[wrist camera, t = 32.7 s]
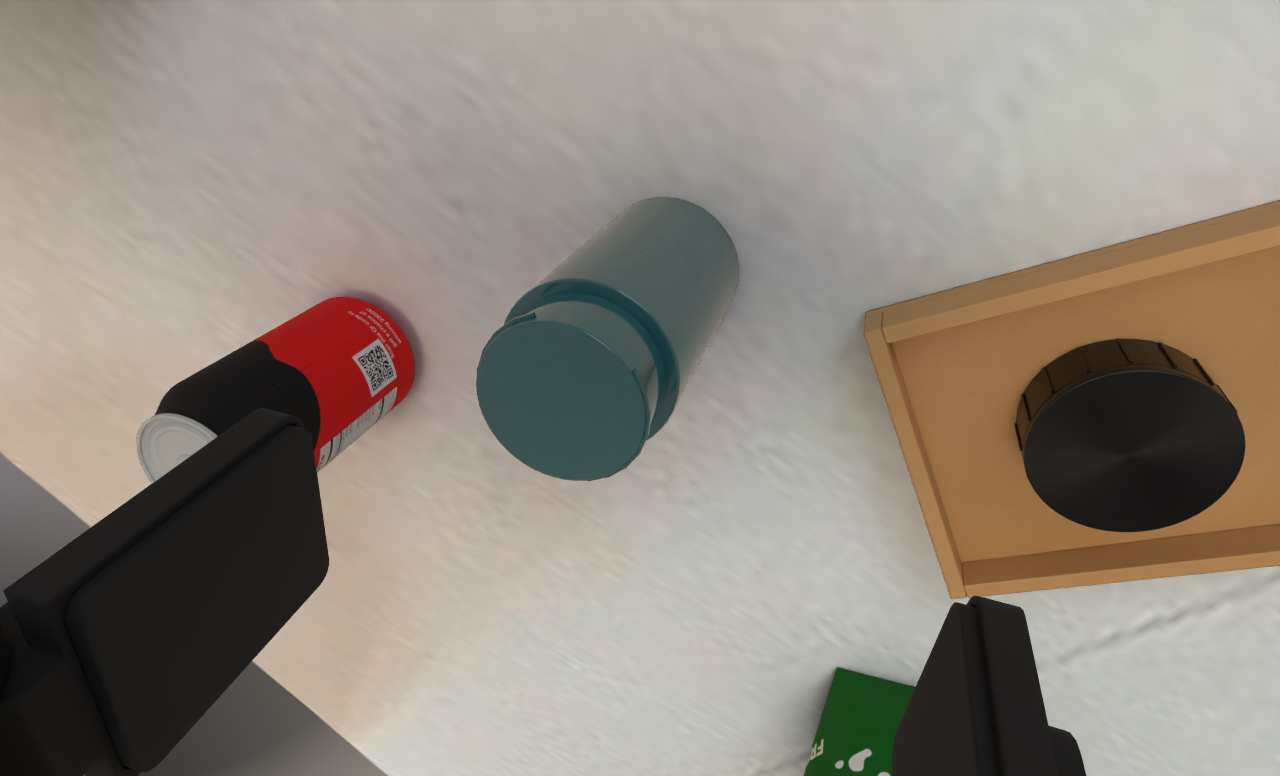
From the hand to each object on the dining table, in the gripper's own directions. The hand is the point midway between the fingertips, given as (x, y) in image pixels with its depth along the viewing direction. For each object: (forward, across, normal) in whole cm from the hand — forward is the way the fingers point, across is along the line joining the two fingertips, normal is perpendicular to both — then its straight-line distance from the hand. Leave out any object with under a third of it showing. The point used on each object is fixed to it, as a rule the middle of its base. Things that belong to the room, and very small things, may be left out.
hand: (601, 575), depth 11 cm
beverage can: (+23, +19, +12) cm, 33 cm away
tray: (+22, -14, +6) cm, 27 cm away
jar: (+23, +4, +5) cm, 24 cm away
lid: (+19, -14, +6) cm, 25 cm away
